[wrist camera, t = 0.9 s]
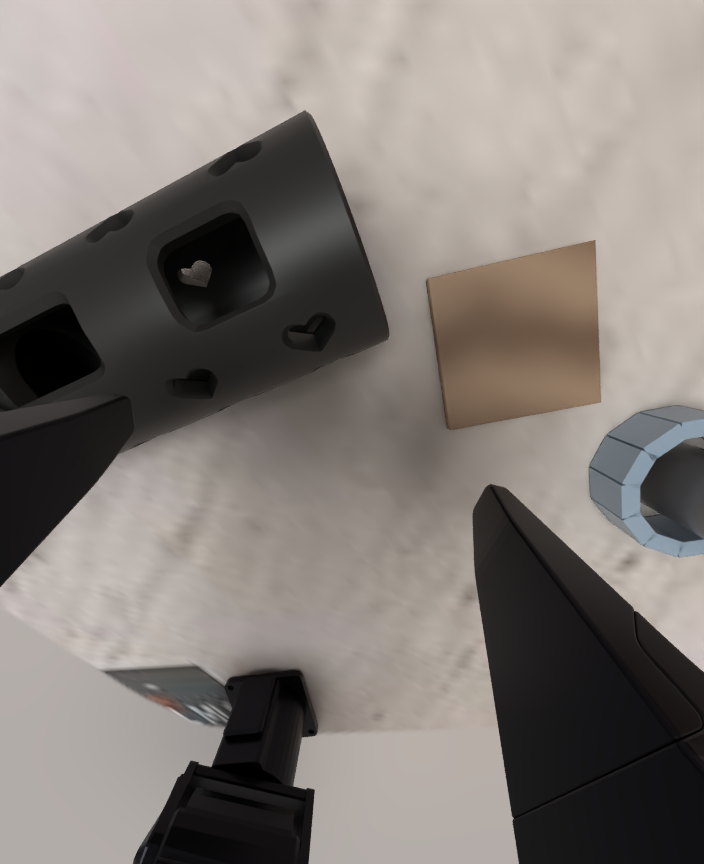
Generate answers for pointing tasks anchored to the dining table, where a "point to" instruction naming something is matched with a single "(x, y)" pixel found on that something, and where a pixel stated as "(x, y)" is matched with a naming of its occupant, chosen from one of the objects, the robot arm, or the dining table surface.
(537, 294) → the mat
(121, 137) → the dining table surface
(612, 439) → the collar
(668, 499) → the plug
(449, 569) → the dining table surface
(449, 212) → the dining table surface
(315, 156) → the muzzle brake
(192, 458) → the dining table surface
